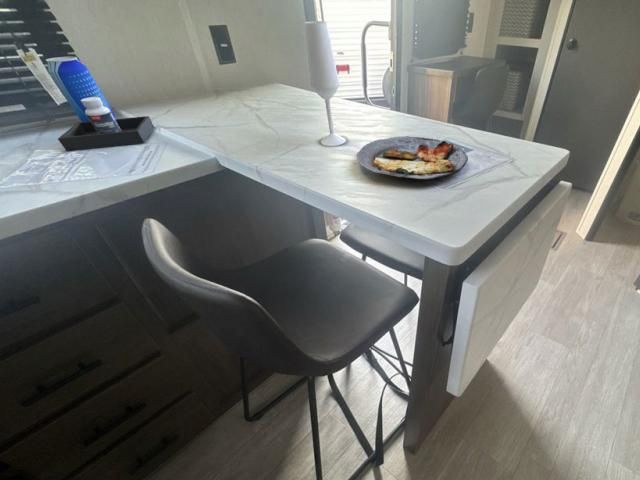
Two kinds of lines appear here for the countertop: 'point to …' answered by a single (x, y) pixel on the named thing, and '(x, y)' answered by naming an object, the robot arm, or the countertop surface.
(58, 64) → the beer can
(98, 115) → the pill bottle
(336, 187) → the countertop surface
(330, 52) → the champagne flute
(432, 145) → the food plate
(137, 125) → the tray
